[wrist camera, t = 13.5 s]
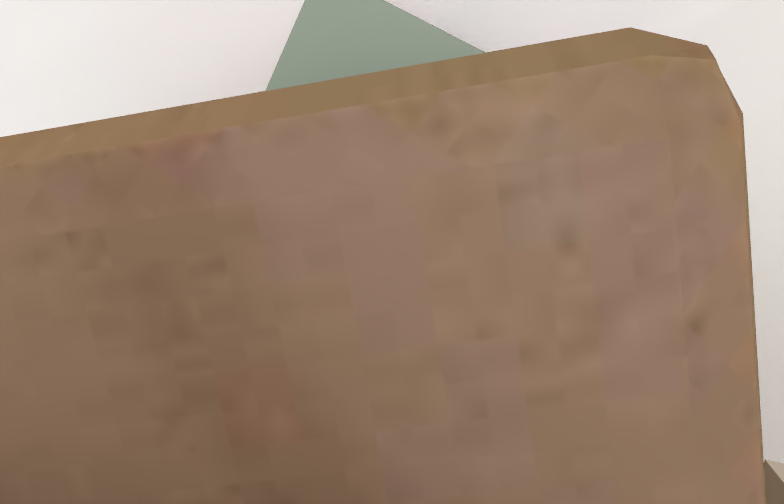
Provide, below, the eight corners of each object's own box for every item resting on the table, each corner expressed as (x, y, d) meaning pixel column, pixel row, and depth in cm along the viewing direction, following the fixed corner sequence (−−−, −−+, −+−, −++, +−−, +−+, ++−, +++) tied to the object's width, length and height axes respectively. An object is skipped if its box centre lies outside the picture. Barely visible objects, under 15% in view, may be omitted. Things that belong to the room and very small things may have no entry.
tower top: (481, 404, 34) (481, 456, 29) (218, 269, 34) (175, 297, 29) (636, 137, 30) (666, 145, 26) (344, -12, 30) (319, -33, 26)
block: (307, 362, 29) (3, 952, 9) (256, 110, 26) (-281, 183, 7) (559, 329, 27) (826, 923, 8) (527, 64, 25) (784, -5, 6)
